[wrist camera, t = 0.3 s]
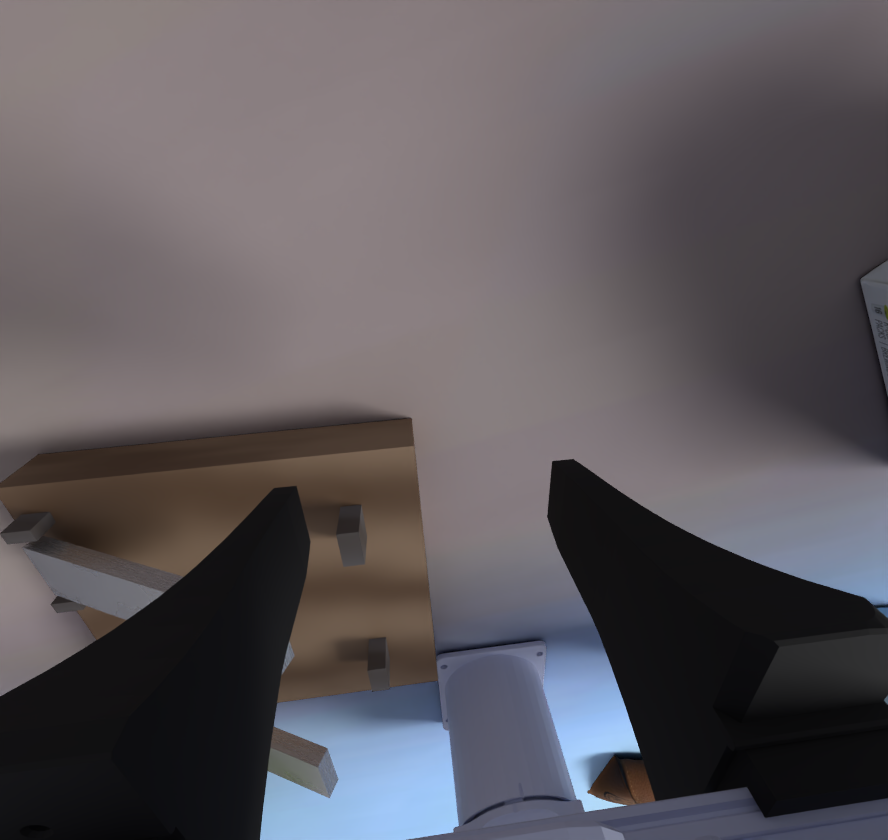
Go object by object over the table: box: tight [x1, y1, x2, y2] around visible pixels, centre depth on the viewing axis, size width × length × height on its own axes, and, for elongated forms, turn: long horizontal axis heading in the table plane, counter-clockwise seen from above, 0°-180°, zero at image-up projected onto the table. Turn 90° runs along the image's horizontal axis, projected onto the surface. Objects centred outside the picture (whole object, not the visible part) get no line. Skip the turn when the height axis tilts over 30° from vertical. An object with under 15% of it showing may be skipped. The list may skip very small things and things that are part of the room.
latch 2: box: [268, 727, 338, 798], centre depth 23 cm, size 3×13×1 cm, turn 93°
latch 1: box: [22, 535, 295, 674], centre depth 18 cm, size 3×13×1 cm, turn 93°
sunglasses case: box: [588, 755, 655, 805], centre depth 44 cm, size 18×7×7 cm
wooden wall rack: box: [0, 418, 438, 703], centre depth 24 cm, size 18×18×5 cm
